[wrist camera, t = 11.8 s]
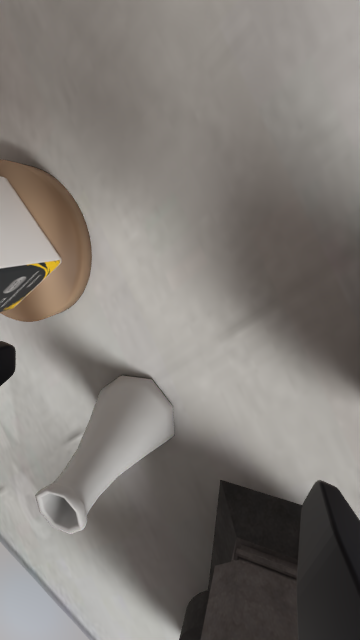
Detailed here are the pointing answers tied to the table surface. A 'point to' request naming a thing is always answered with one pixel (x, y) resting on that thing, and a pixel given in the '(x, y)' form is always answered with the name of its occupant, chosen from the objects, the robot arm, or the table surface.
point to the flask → (108, 449)
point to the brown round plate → (52, 241)
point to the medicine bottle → (21, 249)
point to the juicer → (249, 571)
